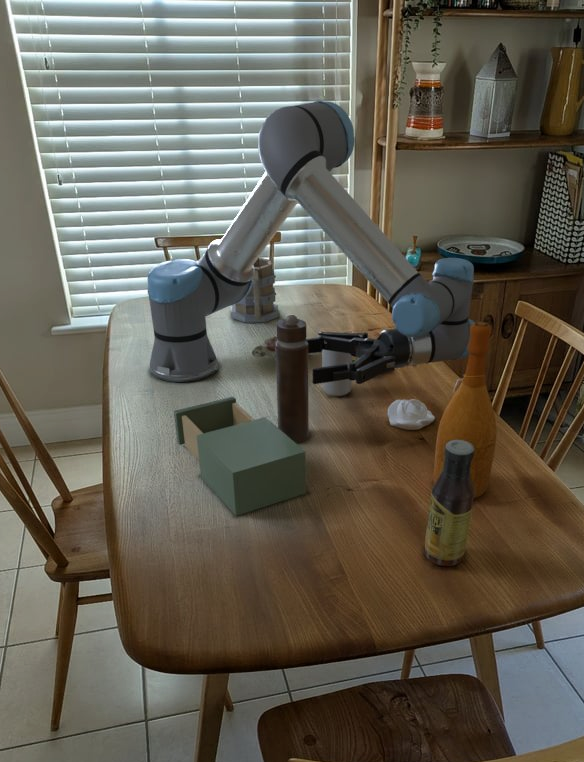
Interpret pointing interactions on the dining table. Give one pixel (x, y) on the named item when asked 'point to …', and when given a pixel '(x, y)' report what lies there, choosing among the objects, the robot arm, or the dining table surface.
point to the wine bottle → (471, 413)
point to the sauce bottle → (451, 506)
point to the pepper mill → (292, 378)
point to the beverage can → (330, 360)
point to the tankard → (258, 296)
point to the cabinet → (252, 465)
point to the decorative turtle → (269, 349)
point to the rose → (409, 414)
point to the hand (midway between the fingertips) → (300, 362)
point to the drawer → (207, 420)
